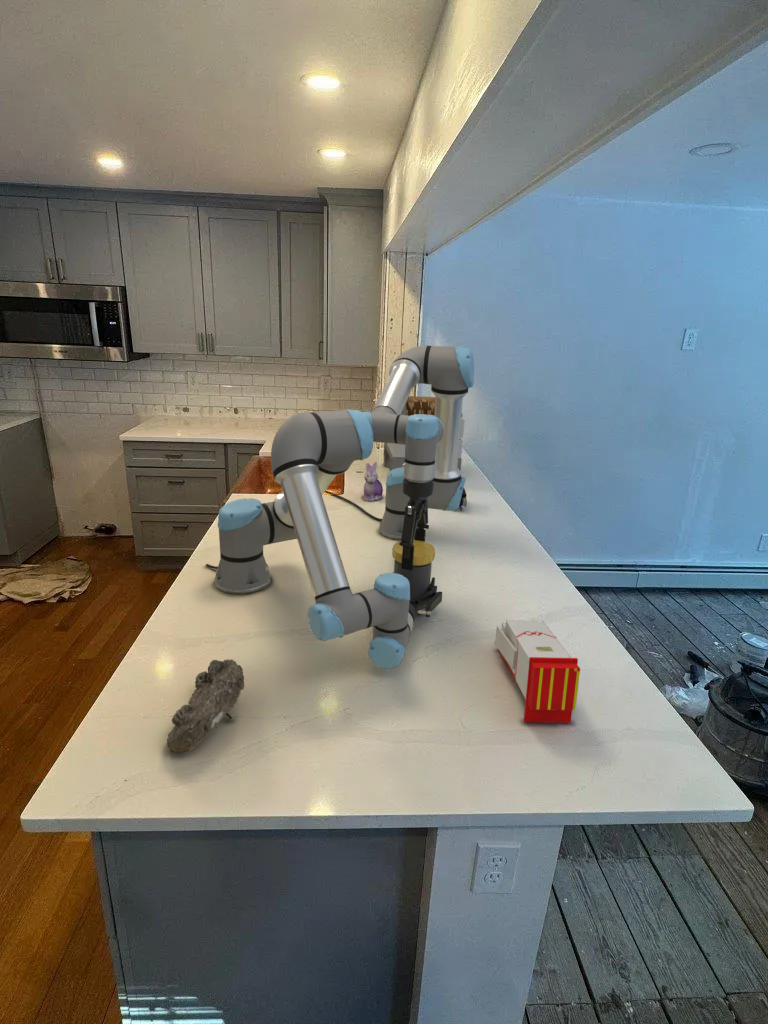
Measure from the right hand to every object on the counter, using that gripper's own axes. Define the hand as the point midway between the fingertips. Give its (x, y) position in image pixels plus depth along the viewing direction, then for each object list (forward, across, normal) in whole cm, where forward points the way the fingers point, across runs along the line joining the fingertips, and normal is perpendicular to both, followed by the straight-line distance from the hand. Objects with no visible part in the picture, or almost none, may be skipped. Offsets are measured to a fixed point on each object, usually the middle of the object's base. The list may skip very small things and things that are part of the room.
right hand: (413, 560), depth 147 cm
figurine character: (+14, -87, -5) cm, 88 cm away
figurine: (+14, -82, -39) cm, 92 cm away
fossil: (+14, +56, -24) cm, 62 cm away
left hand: (+8, -4, 0) cm, 9 cm away
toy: (+14, +21, +33) cm, 41 cm away
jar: (+14, 0, 0) cm, 14 cm away
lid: (-3, 0, 0) cm, 3 cm away
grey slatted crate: (+14, -128, -31) cm, 132 cm away
